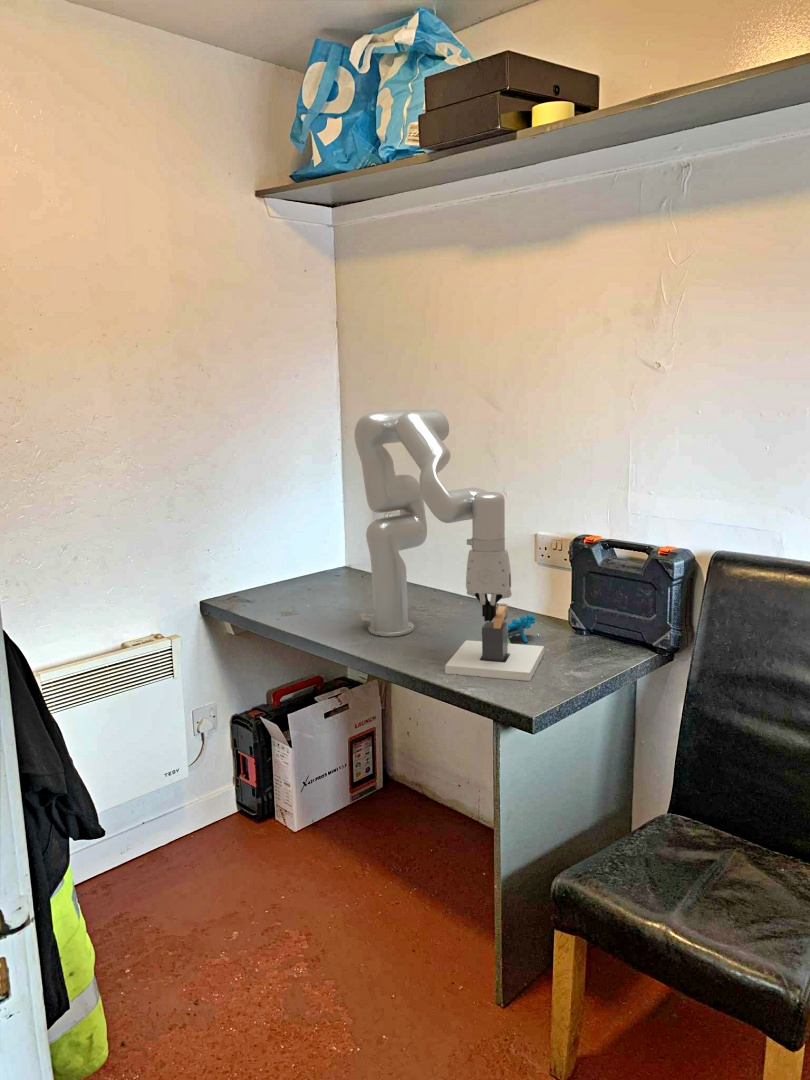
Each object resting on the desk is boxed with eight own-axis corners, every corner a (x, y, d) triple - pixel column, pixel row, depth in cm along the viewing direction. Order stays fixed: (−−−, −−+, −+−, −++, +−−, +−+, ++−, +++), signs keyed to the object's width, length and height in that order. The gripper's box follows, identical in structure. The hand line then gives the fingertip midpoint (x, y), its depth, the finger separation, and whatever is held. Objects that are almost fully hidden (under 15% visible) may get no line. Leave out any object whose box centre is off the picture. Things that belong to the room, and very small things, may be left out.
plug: (482, 667, 196) (481, 627, 194) (487, 660, 201) (486, 621, 199) (503, 669, 195) (502, 629, 193) (507, 662, 199) (507, 622, 197)
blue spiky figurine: (527, 626, 221) (538, 608, 213) (537, 645, 219) (548, 627, 210) (491, 637, 218) (500, 619, 210) (501, 657, 215) (510, 639, 207)
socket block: (445, 673, 193) (444, 636, 192) (466, 647, 211) (465, 613, 209) (529, 681, 187) (529, 642, 185) (543, 653, 204) (543, 618, 203)
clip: (492, 632, 192) (491, 620, 192) (498, 614, 206) (498, 603, 205) (502, 632, 192) (502, 620, 191) (508, 615, 205) (508, 603, 205)
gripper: (453, 546, 191) (454, 622, 195) (516, 549, 186) (516, 627, 190) (462, 540, 198) (463, 613, 202) (523, 543, 193) (523, 617, 197)
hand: (489, 619), depth 196 cm, fingers closed
